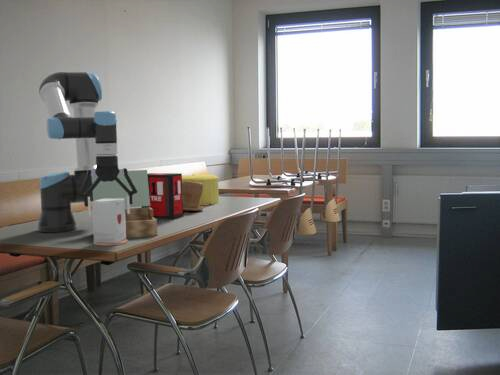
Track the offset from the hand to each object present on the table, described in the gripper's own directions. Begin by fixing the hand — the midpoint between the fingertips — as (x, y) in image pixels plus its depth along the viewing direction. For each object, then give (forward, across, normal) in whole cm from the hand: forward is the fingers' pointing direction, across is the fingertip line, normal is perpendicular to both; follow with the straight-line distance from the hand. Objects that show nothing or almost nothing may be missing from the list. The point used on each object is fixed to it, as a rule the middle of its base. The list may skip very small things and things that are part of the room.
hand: (109, 214), depth 209 cm
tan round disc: (+10, 0, -1) cm, 10 cm away
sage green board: (-6, +7, +24) cm, 26 cm away
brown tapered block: (+12, +44, +68) cm, 82 cm away
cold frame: (+10, +7, +14) cm, 19 cm away
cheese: (+12, +54, +98) cm, 112 cm away
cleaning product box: (+11, +28, +52) cm, 60 cm away
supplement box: (+10, 0, -1) cm, 10 cm away
